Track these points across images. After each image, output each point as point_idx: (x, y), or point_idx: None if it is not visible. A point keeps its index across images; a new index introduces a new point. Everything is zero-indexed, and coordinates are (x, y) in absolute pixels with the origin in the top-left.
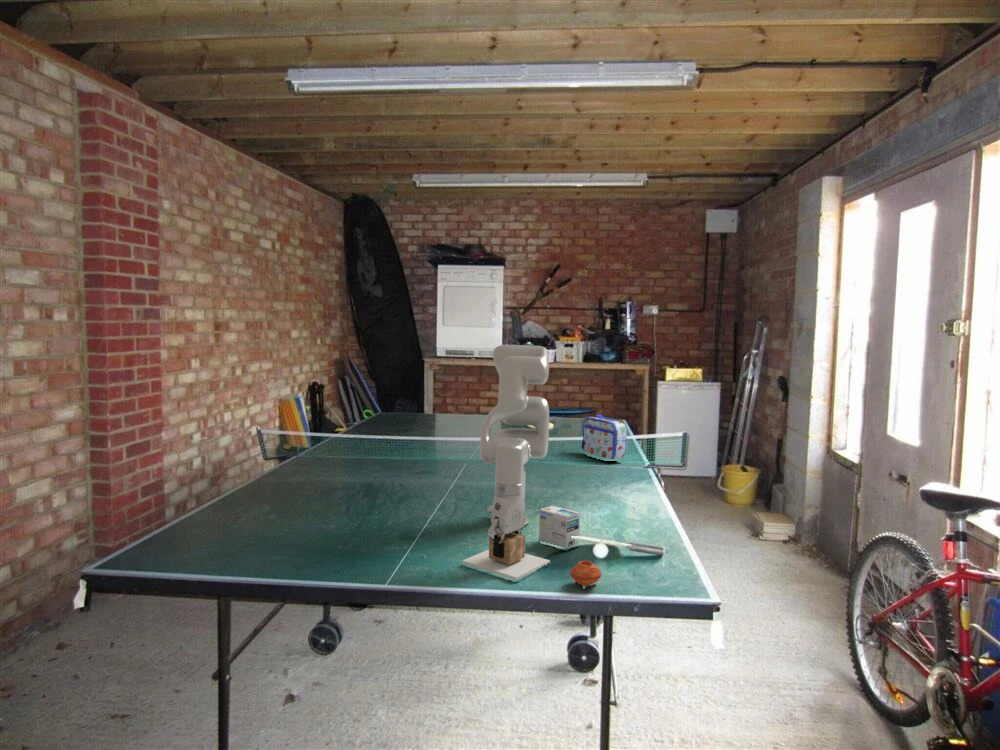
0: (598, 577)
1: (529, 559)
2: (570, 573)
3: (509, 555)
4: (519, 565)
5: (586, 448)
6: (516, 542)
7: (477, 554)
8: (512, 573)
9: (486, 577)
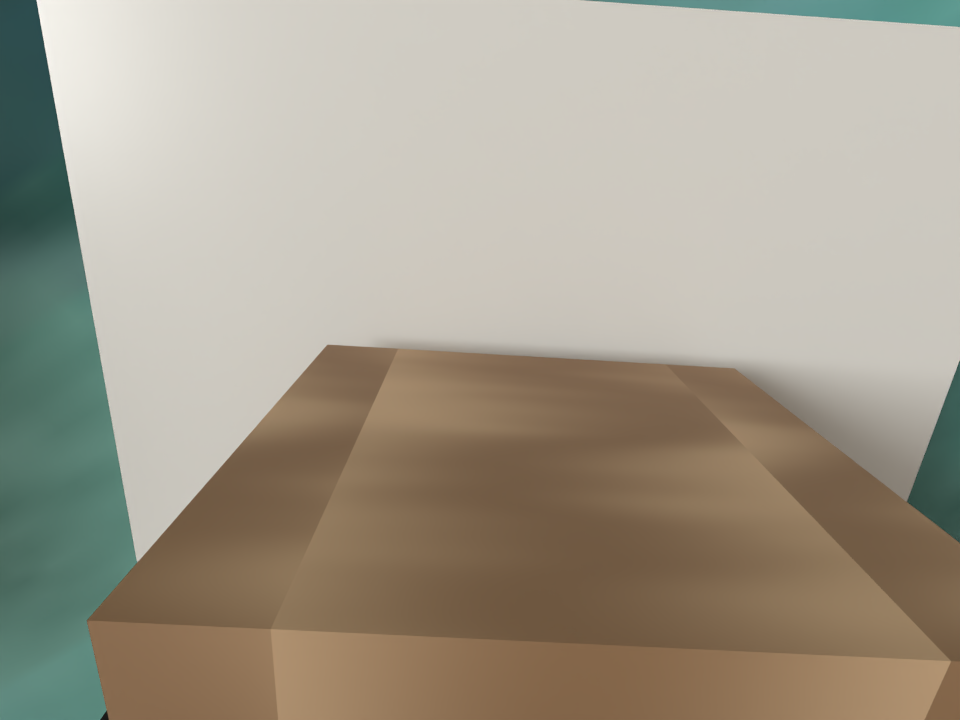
0: None
1: (267, 284)
2: None
3: (814, 439)
4: (578, 275)
5: None
6: (671, 568)
7: None
8: (932, 187)
9: (942, 457)
